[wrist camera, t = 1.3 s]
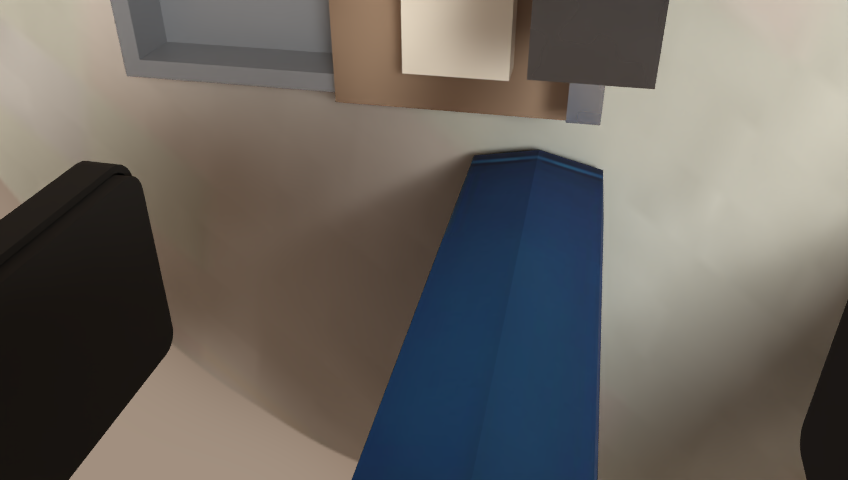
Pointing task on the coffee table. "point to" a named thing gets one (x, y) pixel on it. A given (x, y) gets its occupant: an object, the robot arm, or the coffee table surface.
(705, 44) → the coffee table surface
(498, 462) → the book
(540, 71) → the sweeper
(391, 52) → the brown tray
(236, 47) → the box
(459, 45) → the tile cream
